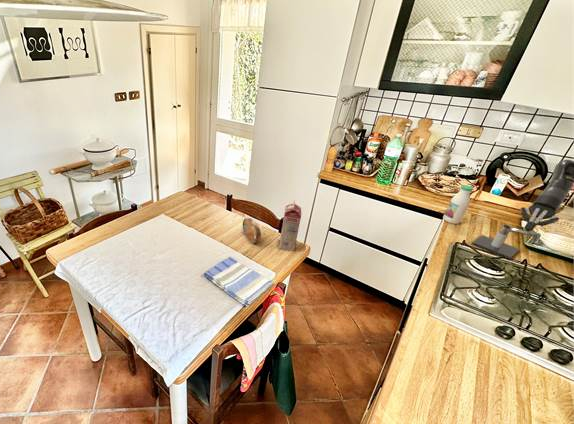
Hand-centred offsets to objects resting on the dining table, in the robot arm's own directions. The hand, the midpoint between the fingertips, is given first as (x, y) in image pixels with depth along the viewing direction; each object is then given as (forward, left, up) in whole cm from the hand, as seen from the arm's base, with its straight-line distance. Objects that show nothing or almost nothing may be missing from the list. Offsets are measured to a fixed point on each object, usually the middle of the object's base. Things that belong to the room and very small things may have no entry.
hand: (527, 230), depth 137 cm
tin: (+74, +98, -10) cm, 123 cm away
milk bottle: (+28, -5, -10) cm, 30 cm away
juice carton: (+60, +88, -10) cm, 107 cm away
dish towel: (+53, +123, -10) cm, 135 cm away
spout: (+1, +5, -3) cm, 6 cm away
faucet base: (+6, +7, -10) cm, 14 cm away
